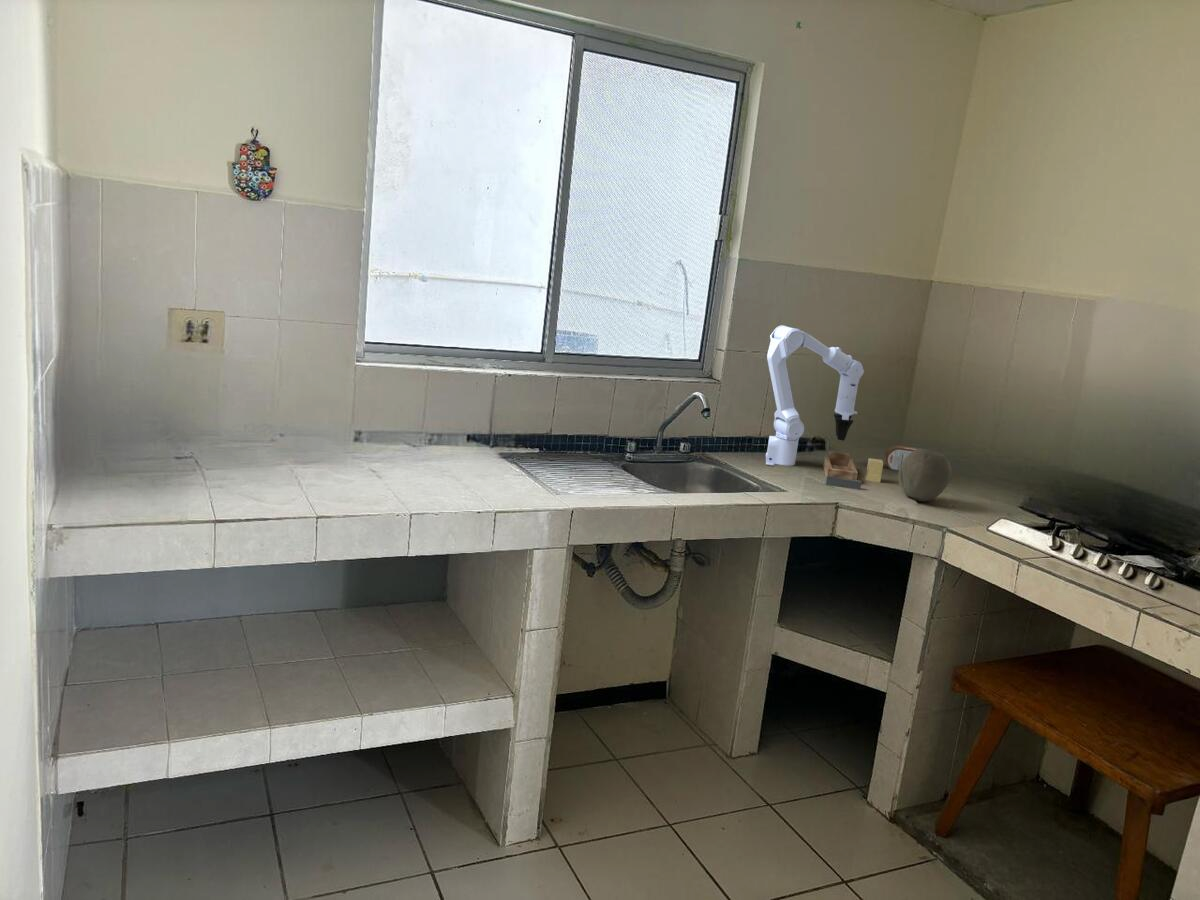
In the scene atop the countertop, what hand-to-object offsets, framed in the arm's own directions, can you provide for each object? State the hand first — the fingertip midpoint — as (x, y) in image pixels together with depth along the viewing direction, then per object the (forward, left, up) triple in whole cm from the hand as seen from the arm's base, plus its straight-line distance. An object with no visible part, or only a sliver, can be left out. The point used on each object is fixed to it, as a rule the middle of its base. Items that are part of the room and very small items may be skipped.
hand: (840, 438), depth 302 cm
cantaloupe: (+22, -32, -10) cm, 40 cm away
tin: (+23, +5, -10) cm, 26 cm away
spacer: (+10, -17, -10) cm, 22 cm away
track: (0, -18, -9) cm, 20 cm away
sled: (0, -15, -9) cm, 17 cm away
